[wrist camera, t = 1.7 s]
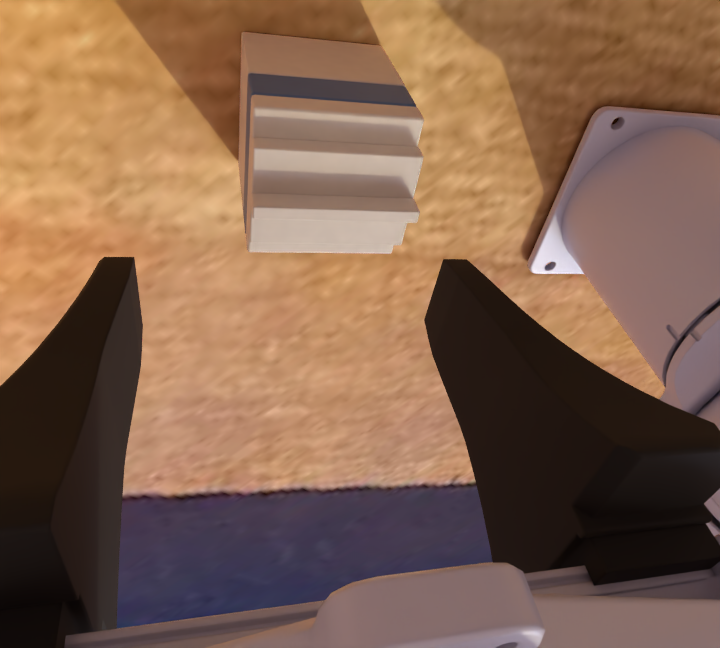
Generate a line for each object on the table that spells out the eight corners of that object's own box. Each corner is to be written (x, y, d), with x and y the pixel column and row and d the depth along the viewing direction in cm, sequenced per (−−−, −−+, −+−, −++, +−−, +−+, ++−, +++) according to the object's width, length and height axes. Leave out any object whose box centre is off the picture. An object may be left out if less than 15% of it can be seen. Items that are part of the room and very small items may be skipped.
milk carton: (381, 45, 20) (439, 141, 15) (360, 168, 23) (402, 280, 18) (241, 30, 19) (256, 130, 14) (238, 163, 22) (249, 281, 17)
